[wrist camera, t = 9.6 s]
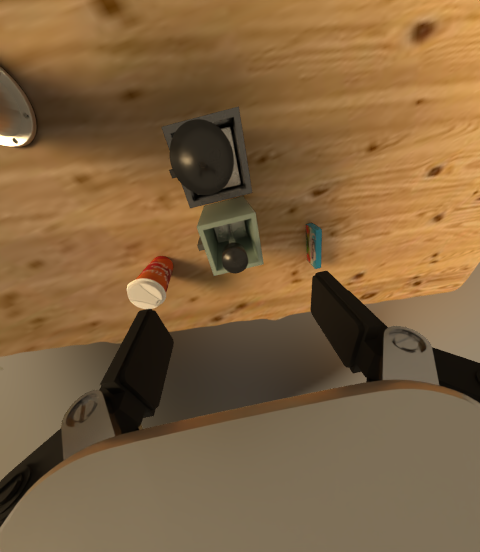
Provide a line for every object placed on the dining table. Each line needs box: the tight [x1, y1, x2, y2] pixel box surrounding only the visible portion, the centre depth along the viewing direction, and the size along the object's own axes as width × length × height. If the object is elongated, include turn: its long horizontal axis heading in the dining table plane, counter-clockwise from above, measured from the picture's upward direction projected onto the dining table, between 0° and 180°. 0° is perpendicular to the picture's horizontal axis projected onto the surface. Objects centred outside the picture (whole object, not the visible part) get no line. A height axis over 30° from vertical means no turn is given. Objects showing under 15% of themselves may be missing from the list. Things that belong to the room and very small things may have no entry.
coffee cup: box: [127, 256, 173, 309], centre depth 45 cm, size 8×8×15 cm
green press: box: [197, 196, 264, 276], centre depth 39 cm, size 10×12×18 cm
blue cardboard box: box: [306, 223, 322, 269], centre depth 50 cm, size 12×2×6 cm, turn 14°
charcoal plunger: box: [170, 119, 241, 195], centre depth 20 cm, size 8×8×20 cm
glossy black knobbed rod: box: [214, 220, 248, 273], centre depth 35 cm, size 8×8×20 cm
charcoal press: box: [162, 107, 252, 208], centre depth 32 cm, size 10×12×18 cm
